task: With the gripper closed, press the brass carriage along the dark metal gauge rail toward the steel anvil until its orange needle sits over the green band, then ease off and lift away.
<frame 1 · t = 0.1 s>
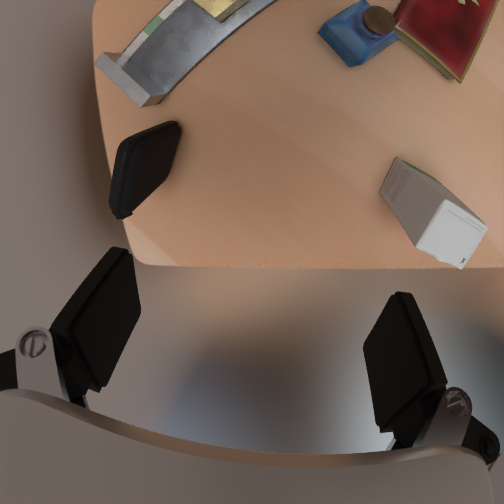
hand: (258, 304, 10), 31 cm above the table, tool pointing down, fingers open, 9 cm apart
perfume bottle: (350, 38, 27), on the table
gauge base: (193, 24, 27), on the table
carrying case or bag: (168, 152, 38), on the table
hardcover book: (440, 11, 21), on the table
skincare box: (405, 185, 37), on the table
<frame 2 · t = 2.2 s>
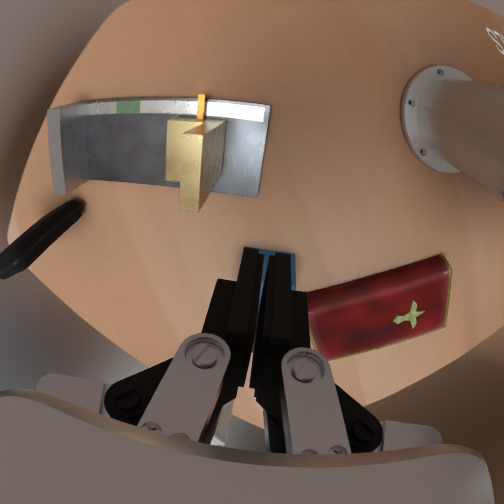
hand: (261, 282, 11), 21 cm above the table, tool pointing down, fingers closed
perfume bottle: (266, 269, 37), on the table
gauge base: (159, 140, 28), on the table
carrying case or bag: (66, 212, 35), on the table
hardcover book: (376, 301, 39), on the table
skincare box: (214, 359, 49), on the table
gauge carriage: (186, 143, 23), point 6 cm above the table, slide at 0.0 cm
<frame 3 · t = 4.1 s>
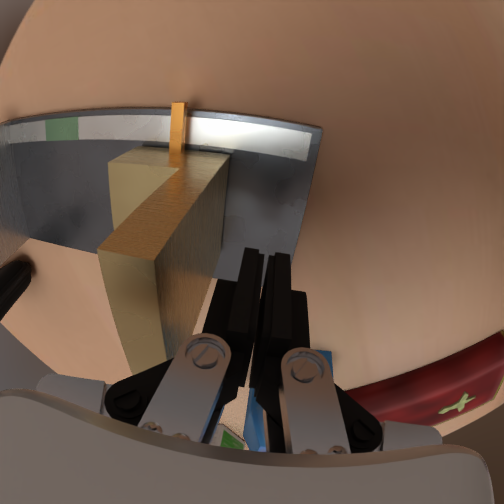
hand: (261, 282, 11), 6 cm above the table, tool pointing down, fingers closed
perfume bottle: (288, 365, 24), on the table
gauge base: (116, 185, 16), on the table
carrying case or bag: (16, 269, 23), on the table
hardcover book: (419, 385, 26), on the table
skincare box: (215, 431, 37), on the table
gauge carriage: (143, 219, 11), point 6 cm above the table, slide at 0.2 cm, touching gripper
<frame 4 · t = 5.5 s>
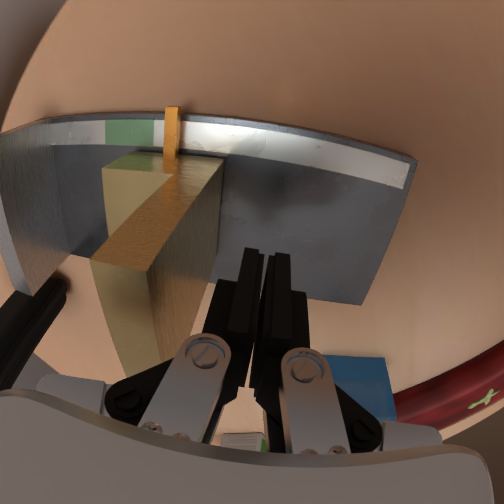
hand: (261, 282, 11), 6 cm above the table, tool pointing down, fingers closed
perfume bottle: (342, 373, 24), on the table
gauge base: (193, 199, 16), on the table
carrying case or bag: (44, 285, 22), on the table
hardcover book: (449, 384, 26), on the table
skincare box: (250, 440, 36), on the table
gauge carriage: (137, 226, 10), point 6 cm above the table, slide at 5.7 cm, touching gripper
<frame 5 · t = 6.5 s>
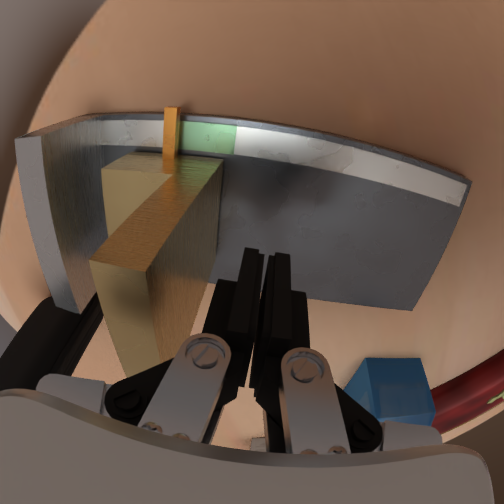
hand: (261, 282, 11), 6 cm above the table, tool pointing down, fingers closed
perfume bottle: (380, 374, 24), on the table
gauge base: (266, 211, 16), on the table
carrying case or bag: (75, 296, 22), on the table
hardcover book: (469, 382, 26), on the table
gauge carriage: (136, 227, 10), point 6 cm above the table, slide at 9.9 cm, touching gripper
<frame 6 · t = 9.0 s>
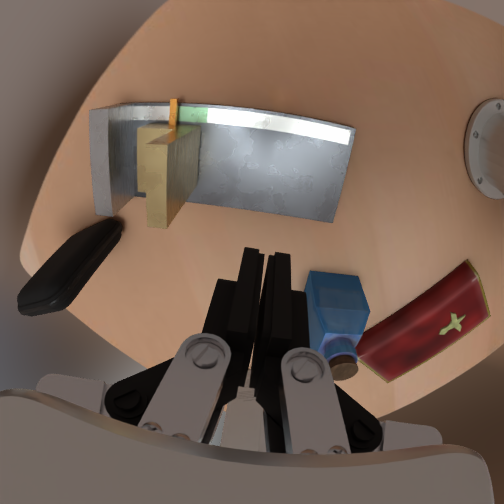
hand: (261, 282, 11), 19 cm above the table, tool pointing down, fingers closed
perfume bottle: (327, 291, 35), on the table
gauge base: (226, 155, 26), on the table
carrying case or bag: (97, 232, 32), on the table
hardcover book: (421, 318, 38), on the table
skincare box: (256, 379, 47), on the table
gauge carriage: (156, 152, 21), point 6 cm above the table, slide at 10.0 cm
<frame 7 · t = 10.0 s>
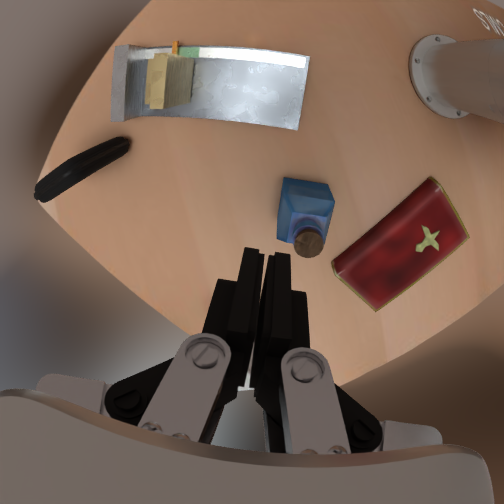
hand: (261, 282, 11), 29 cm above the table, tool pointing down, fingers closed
perfume bottle: (302, 200, 40), on the table
gauge base: (213, 81, 31), on the table
carrying case or bag: (108, 153, 38), on the table
hardcover book: (399, 241, 42), on the table
gauge carriage: (160, 70, 26), point 6 cm above the table, slide at 10.0 cm
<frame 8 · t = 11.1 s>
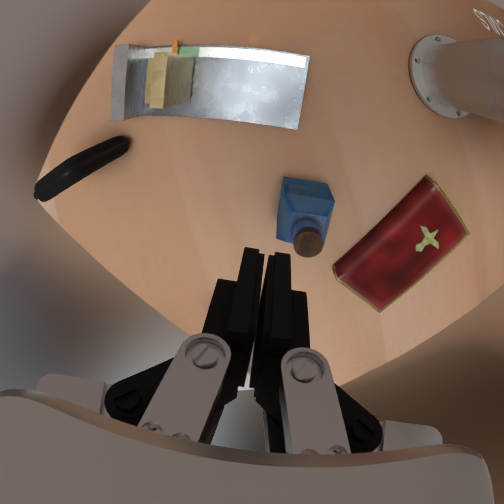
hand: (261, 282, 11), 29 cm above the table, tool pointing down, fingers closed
perfume bottle: (301, 200, 40), on the table
gauge base: (213, 81, 31), on the table
carrying case or bag: (108, 152, 38), on the table
hardcover book: (399, 241, 42), on the table
gauge carriage: (160, 70, 26), point 6 cm above the table, slide at 10.0 cm
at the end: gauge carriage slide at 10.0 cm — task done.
